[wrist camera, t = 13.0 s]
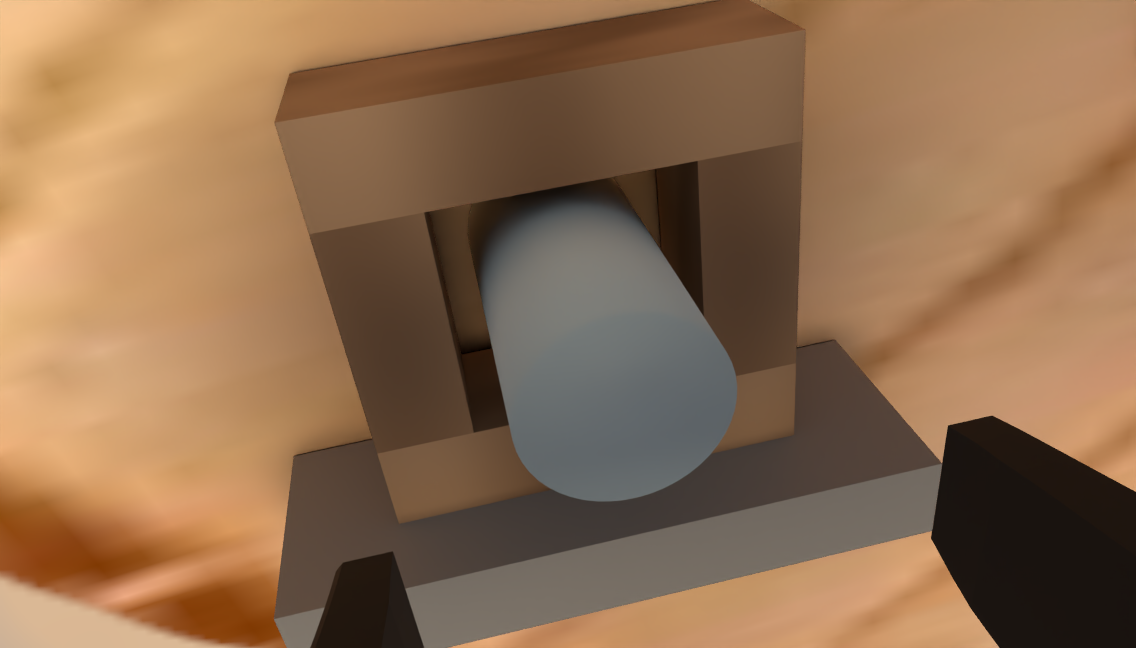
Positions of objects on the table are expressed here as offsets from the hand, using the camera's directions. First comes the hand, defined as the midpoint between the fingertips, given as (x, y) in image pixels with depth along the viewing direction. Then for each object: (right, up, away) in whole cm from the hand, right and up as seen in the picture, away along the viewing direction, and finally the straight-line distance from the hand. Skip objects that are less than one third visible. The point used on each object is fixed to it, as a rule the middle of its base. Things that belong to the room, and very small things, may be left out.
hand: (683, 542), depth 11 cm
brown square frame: (-2, +5, +8) cm, 10 cm away
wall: (-1, 0, +11) cm, 11 cm away
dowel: (-2, +5, +8) cm, 10 cm away
